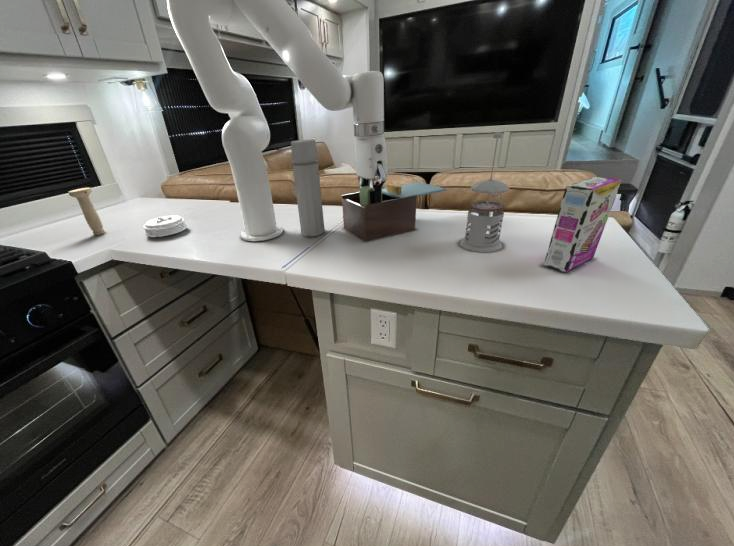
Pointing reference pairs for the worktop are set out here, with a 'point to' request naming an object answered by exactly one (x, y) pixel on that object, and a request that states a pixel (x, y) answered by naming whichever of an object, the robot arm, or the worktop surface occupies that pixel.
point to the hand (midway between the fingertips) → (370, 202)
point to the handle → (88, 209)
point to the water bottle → (307, 186)
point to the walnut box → (378, 216)
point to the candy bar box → (580, 222)
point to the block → (366, 195)
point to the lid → (164, 226)
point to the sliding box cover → (411, 190)
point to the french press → (485, 215)
